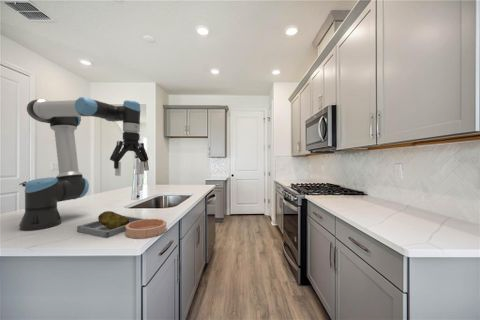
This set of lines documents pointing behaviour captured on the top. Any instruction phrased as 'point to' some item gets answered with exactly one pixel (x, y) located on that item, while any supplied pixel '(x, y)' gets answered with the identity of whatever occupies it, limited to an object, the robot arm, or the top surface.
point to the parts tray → (91, 230)
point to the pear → (112, 219)
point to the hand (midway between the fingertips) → (130, 174)
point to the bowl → (145, 228)
